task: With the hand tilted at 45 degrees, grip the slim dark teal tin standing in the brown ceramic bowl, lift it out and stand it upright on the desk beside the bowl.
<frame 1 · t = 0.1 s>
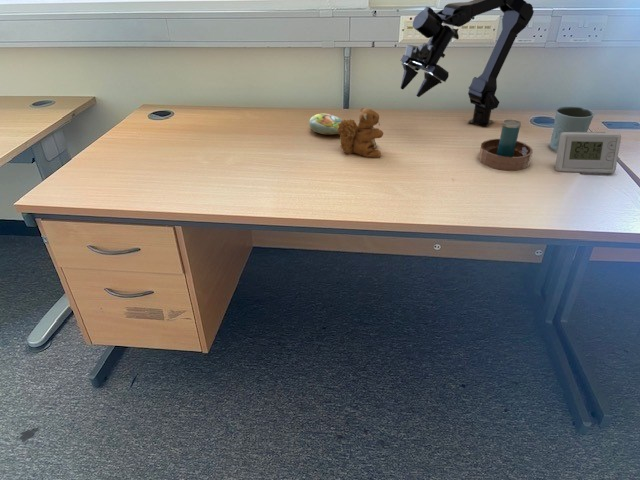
hand: (409, 92, 145), 15 cm above the table, tool tilted 35°, fingers open, 9 cm apart
grey-green cup: (563, 149, 142), on the table
bowl: (503, 162, 135), on the table
digital clock: (581, 171, 130), on the table
stuffed squirrel: (359, 151, 144), on the table
decorated easter egg: (326, 131, 159), on the table
tin: (503, 160, 135), point 1 cm above the table, touching bowl
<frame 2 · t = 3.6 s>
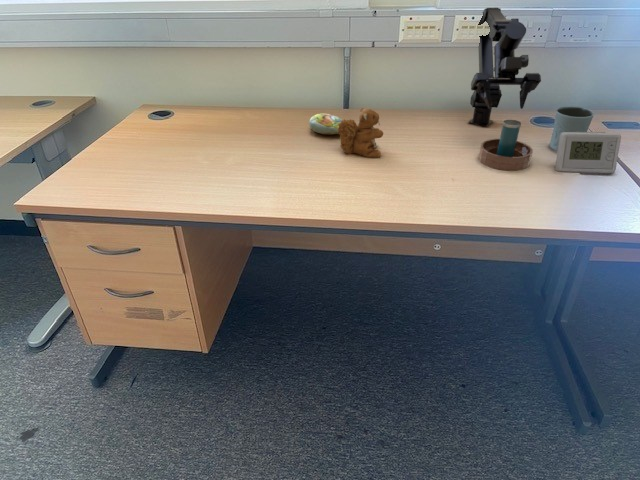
hand: (505, 108, 134), 14 cm above the table, tool tilted 45°, fingers open, 9 cm apart
nothing on the table moved.
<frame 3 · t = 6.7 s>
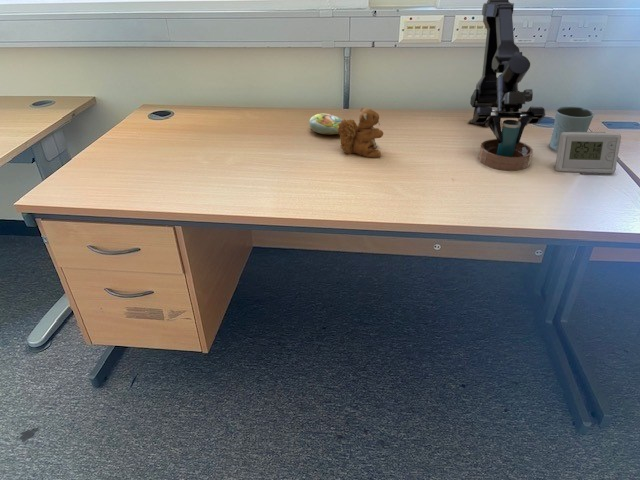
hand: (509, 142, 131), 7 cm above the table, tool tilted 45°, fingers closed on tin, 4 cm apart
tin: (503, 160, 135), point 1 cm above the table, touching bowl, gripper
everything else where it was.
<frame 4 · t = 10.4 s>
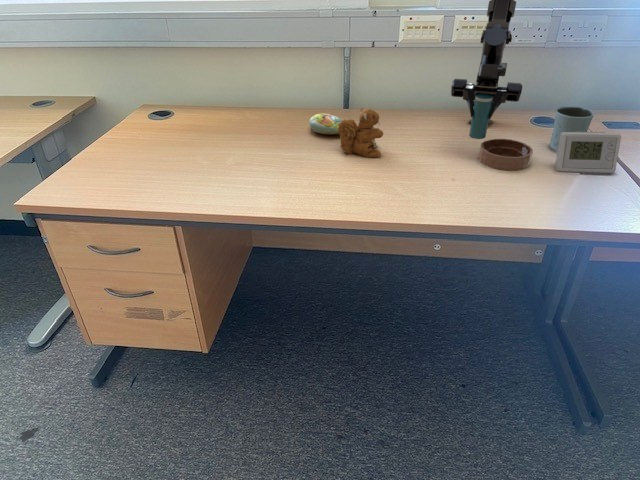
hand: (480, 117, 128), 13 cm above the table, tool tilted 45°, fingers closed on tin, 4 cm apart
tin: (477, 136, 133), point 8 cm above the table, touching gripper
everything else where it was.
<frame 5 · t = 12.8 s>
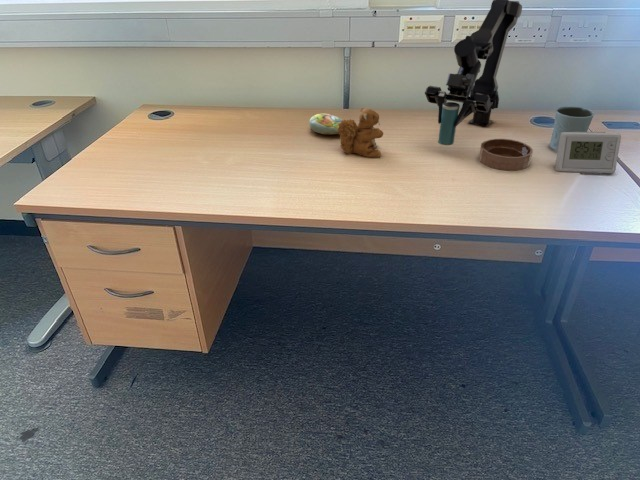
hand: (446, 124, 134), 10 cm above the table, tool tilted 45°, fingers closed on tin, 4 cm apart
tin: (445, 142, 138), point 4 cm above the table, touching gripper
everything else where it was.
when the fingers open (6 cm above the table, at t = 14.4 s): tin stays where it is, on the table.
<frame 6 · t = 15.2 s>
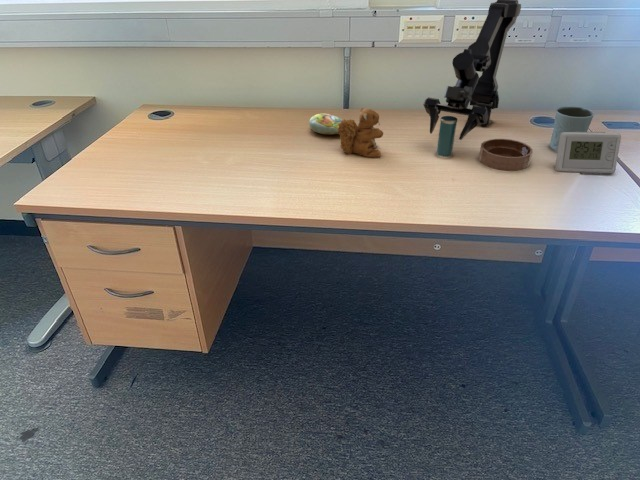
hand: (445, 136, 136), 7 cm above the table, tool tilted 45°, fingers open, 9 cm apart
tin: (443, 155, 140), on the table
everything else where it was.
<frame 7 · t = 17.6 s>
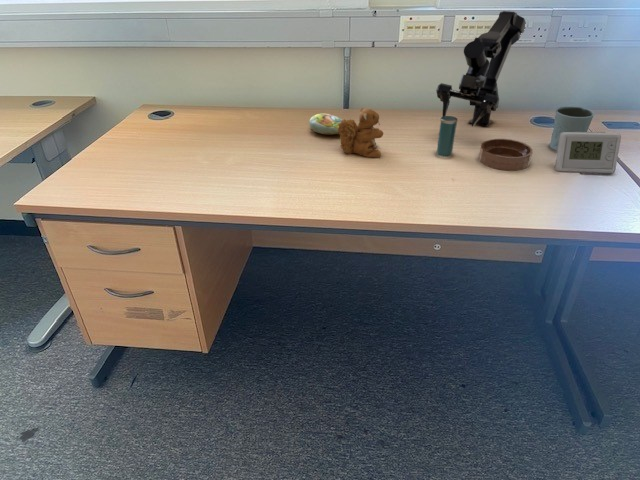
hand: (457, 122, 142), 8 cm above the table, tool tilted 40°, fingers open, 9 cm apart
nothing on the table moved.
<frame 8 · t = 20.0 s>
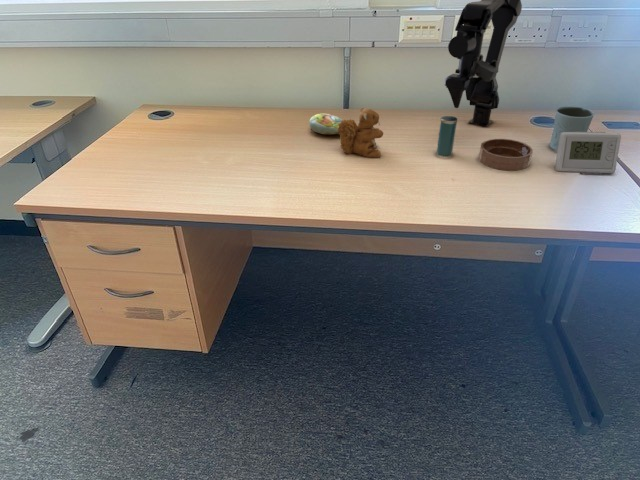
hand: (462, 104, 143), 12 cm above the table, tool pointing down, fingers open, 9 cm apart
nothing on the table moved.
at the end: tin inside the target area (0.1 cm from its centre), on the table; tin tilted 0°; tin touching table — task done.
